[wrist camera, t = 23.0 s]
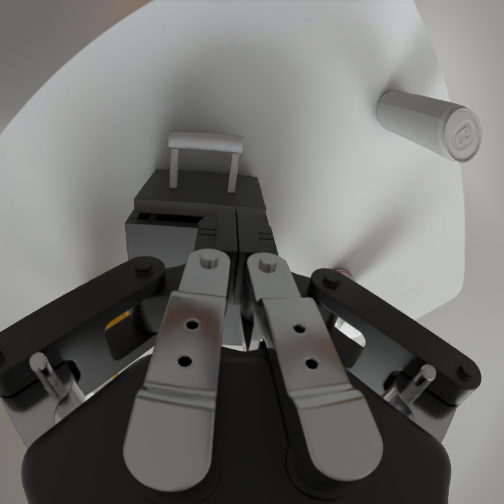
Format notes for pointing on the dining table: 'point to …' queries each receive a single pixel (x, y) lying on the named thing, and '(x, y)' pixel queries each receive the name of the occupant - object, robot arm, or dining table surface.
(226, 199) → the drawer
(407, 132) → the beverage can
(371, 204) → the dining table surface
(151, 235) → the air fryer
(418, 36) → the dining table surface
